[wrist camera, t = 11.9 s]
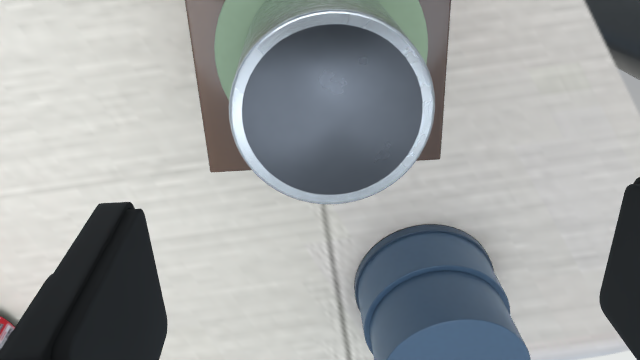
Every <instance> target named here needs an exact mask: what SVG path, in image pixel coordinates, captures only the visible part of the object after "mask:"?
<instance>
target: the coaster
mask: <svg viewBox="0 0 640 360" xmlns="http://www.w3.org/2000/svg"><path fill="white" fill-rule="evenodd" d="M265 1H266V0H225V2H224V4H223V6H222V9H221V12H220V15H219V18H218V22H217V27H216V32H215V44H214V50H215V62H216V67H217V72H218V76H219V79H220V82H221V85H222V88H223V90H224V92H225V94H226V96H227V98H228V100H230V92H231V88H232V83H233V80H234V76H235V73H236V70H237V66H238V63H239V60H240V56H241V53H242V50H243V46H244V43H245V39H246V36H247V33H248V30H249V27H250V24H251V22H252V20H253V18H254V16H255V14H256V12H257V11H258V9H259V8H260V7H261V5H262V4H263V3H264V2H265ZM378 1H379V2H380V3H381V4H382V6H383V7H384V8H385V9H386V11H387V12H388V13H389V14H390V16H391V17H392V18H393V19H394V21H395V22H396V23H397V24H398V26H399V27H400V28H401V29H402V31H403V32H404V33H405V35H406V36H407V37H408V38H409V40H410V41H411V42H412V43H413V45H414V46H415V47H416V48H417V50H418V51H419V53H420V55H421V56H422V58H423V59H424V61H425V63H427V55H428V33H427V26H426V21H425V17H424V14H423V10H422V7H421V5H420V3H419V1H418V0H378Z"/></svg>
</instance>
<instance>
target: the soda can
mask: <svg viewBox="0 0 640 360" xmlns="http://www.w3.org/2000/svg"><path fill="white" fill-rule="evenodd" d="M14 328H15V327H14V326H13V325H12V324H11V323H10V322H9V321H8V320H6V319H4V318H3V317H1V316H0V350H1V348H2V347H3V345H4V344H5V342H6V341H7V339H8V337H9V336H10V334H11V333H12V331H13V330H14Z"/></svg>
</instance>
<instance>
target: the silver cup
mask: <svg viewBox="0 0 640 360" xmlns="http://www.w3.org/2000/svg"><path fill="white" fill-rule="evenodd" d="M434 112H435V95H434V88H433V83H432V79H431V76H430V72H429V70H428V68H427V66H426V63H425V61H424V59H423V58H422V56H421V55H420V53H419V51H418V50H417V48H416V47H415V46H414V45H413V43H412V42H411V41H410V40H409V38H408V37H407V36H406V35H405V33H404V32H403V31H402V29H401V28H400V27H399V26H398V24H397V23H396V22H395V21H394V19H393V18H392V17H391V16H390V14H389V13H388V12H387V11H386V9H385V8H384V7H383V6H382V4H381V3H380V2H379V1H378V0H266V1H265V2H264V3H263V4H262V5H261V7H260V8H259V9H258V11H257V12H256V14H255V16H254V18H253V20H252V22H251V24H250V27H249V30H248V33H247V36H246V39H245V43H244V46H243V50H242V53H241V56H240V60H239V63H238V66H237V70H236V73H235V76H234V80H233V83H232V88H231V92H230V100H229V121H230V126H231V131H232V135H233V137H234V140H235V143H236V146H237V148H238V150H239V152H240V154H241V156H242V157H243V159H244V160H245V162H246V163H247V164H248V166H249V167H250V168H251V169H252V170H253V172H254V173H255V174H256V175H257V176H258V177H259V178H261V179H262V180H263V181H264V182H265V183H266V184H268V185H269V186H271V187H272V188H274V189H275V190H277V191H279V192H281V193H283V194H285V195H287V196H290V197H292V198H295V199H298V200H302V201H306V202H310V203H318V204H340V203H348V202H353V201H357V200H361V199H364V198H366V197H369V196H372V195H374V194H376V193H378V192H380V191H382V190H384V189H385V188H387V187H388V186H390V185H392V184H393V183H394V182H396V181H397V180H398V179H399V178H400V177H402V176H403V175H404V174H405V173H406V172H407V171H408V170H409V169H410V168H411V166H412V165H413V164H414V162H415V161H416V160H417V158H418V157H419V155H420V154H421V152H422V150H423V148H424V147H425V145H426V142H427V140H428V137H429V135H430V132H431V128H432V125H433V120H434Z"/></svg>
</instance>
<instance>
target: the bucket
mask: <svg viewBox="0 0 640 360" xmlns="http://www.w3.org/2000/svg"><path fill="white" fill-rule="evenodd" d="M354 288H355V297H356V302H357V305H358V308H359V310H360V312H361V318H362V324H363V330H364V336H365V340H366V343H367V345H368V348H369V350H370V351H371V353H372V354H373V355H374V360H530V355H529V351H528V349H527V347H526V345H525V343H524V341H523V339H522V337H521V336H520V334H519V332H518V330H517V328H516V326H515V324H514V322H513V320H512V318H511V316H510V306H509V302H508V298H507V296H506V294H505V292H504V290H503V288H502V287H501V285H500V283H499V281H498V279H497V277H496V275H495V273H494V270H493V266H492V263H491V261H490V259H489V257H488V255H487V253H486V251H485V250H484V248H483V247H482V245H481V244H480V243H479V242H478V241H477V240H476V239H474V238H473V237H472V236H470V235H469V234H467V233H465V232H463V231H461V230H458V229H456V228H453V227H448V226H443V225H419V226H414V227H409V228H406V229H403V230H400V231H397V232H395V233H393V234H391V235H389V236H388V237H386V238H384V239H383V240H381V241H380V242H379V243H377V244H376V245H375V246H374V247H373V248H372V249H371V250H370V251H369V252H368V253H367V255H366V256H365V257H364V259H363V260H362V262H361V264H360V266H359V268H358V271H357V273H356V278H355V287H354Z"/></svg>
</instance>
